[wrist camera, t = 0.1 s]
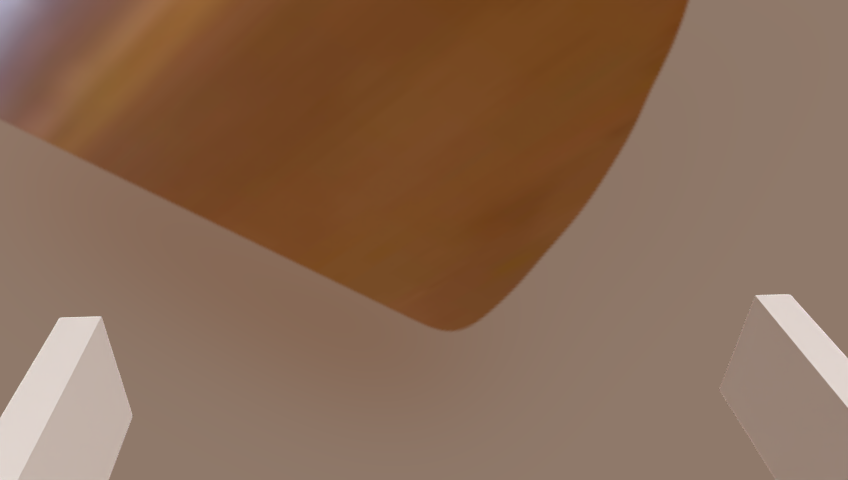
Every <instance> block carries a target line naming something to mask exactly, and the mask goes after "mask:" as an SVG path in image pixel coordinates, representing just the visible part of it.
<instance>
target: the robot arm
mask: <svg viewBox="0 0 848 480" xmlns="http://www.w3.org/2000/svg"><path fill="white" fill-rule="evenodd" d="M719 391H720V392H721V394H722V395H723V397H724V399H725V400H726V402H727V403H728V405H729V406H730V408H731V409H732V411H733V413H734V414H735V416H736V418H737V419H738V421H739V422H740V424H741V426H742V427H743V429H744V430H745V432H746V434H747V435H748V437H749V438H750V440H751V441H752V443H753V445H754V446H755V448H756V449H757V451H758V453H759V454H760V456H761V458H762V459H763V461H764V462H765V464H766V465H767V467H768V469H769V470H770V472H771V473H772V475H773V477H774V478H775V479H776V480H848V358H847V357H846V356H845V355H844V354H843V353H842V352H841V351H840V350H839V348H838V347H837V346H836V345H835V344H834V343H833V342H832V340H830V338H829V337H828V336H827V335H826V334H825V333H824V332H823V330H822V329H821V328H820V327H819V326H818V325H817V324H816V323H815V322H814V321H813V319H812V318H811V317H810V316H809V315H808V314H807V313H806V312H805V310H804V309H803V308H802V307H801V306H800V305H799V304H798V303H797V302H796V300H795V299H794V298H793V297H792V296H791V295H790V294H781V295H755V297H754V300H753V302H752V305H751V307H750V310H749V313H748V315H747V318H746V320H745V323H744V326H743V328H742V331H741V334H740V336H739V339H738V341H737V344H736V346H735V349H734V352H733V354H732V357H731V360H730V362H729V365H728V367H727V370H726V373H725V375H724V378H723V381H722V383H721V386H720V389H719ZM132 416H133V415H132V412H131V409H130V406H129V402H128V399H127V396H126V393H125V390H124V387H123V383H122V380H121V377H120V374H119V371H118V367H117V364H116V361H115V358H114V355H113V352H112V348H111V345H110V342H109V339H108V336H107V332H106V329H105V326H104V323H103V320H102V317H101V316H97V317H96V316H95V317H64V318H59V320H58V321H57V323H56V325H55V326H54V328H53V330H52V332H51V333H50V335H49V337H48V338H47V340H46V342H45V343H44V345H43V347H42V348H41V350H40V352H39V353H38V355H37V357H36V359H35V360H34V362H33V364H32V365H31V367H30V369H29V370H28V372H27V374H26V375H25V377H24V379H23V380H22V382H21V384H20V385H19V387H18V389H17V390H16V392H15V394H14V396H13V397H12V399H11V400H10V402H9V404H8V406H7V407H6V409H5V411H4V412H3V414H2V416H1V417H0V480H109V478H110V475H111V472H112V469H113V467H114V464H115V462H116V459H117V456H118V454H119V451H120V448H121V446H122V443H123V440H124V438H125V435H126V432H127V430H128V427H129V424H130V422H131V419H132Z"/></svg>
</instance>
